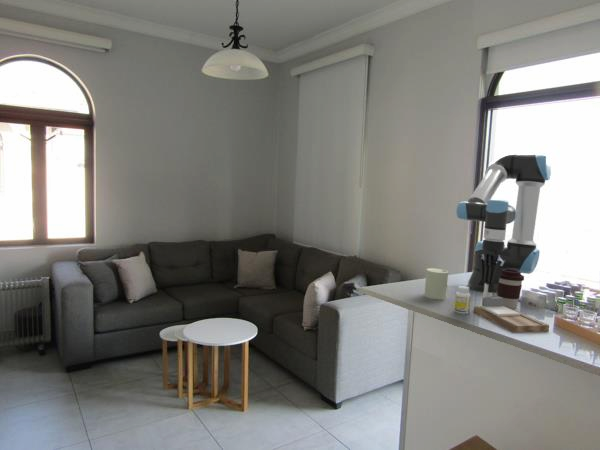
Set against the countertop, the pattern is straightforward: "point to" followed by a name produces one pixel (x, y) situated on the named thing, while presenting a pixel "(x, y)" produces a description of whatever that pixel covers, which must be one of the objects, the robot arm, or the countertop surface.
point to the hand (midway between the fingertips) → (487, 299)
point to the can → (436, 283)
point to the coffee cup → (510, 287)
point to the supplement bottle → (462, 300)
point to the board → (514, 321)
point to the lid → (497, 307)
